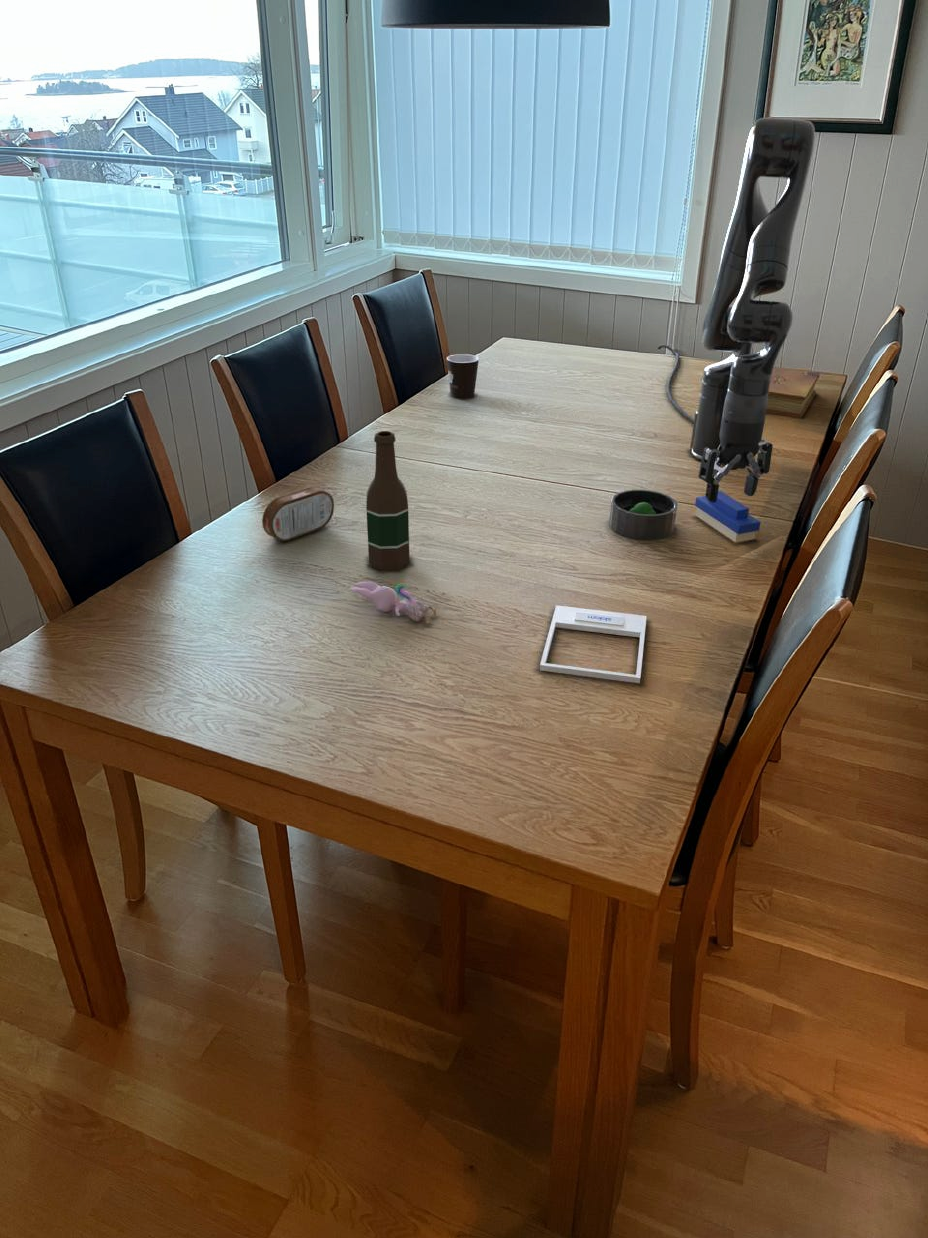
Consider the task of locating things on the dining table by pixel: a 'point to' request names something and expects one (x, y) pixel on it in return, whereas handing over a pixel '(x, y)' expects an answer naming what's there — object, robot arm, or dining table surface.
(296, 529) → the tin
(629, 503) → the bowl
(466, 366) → the coffee mug
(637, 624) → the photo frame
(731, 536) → the brush
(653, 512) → the broccoli floret
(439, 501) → the dining table surface
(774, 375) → the diary
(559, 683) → the dining table surface
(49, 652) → the dining table surface
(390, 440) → the beer bottle
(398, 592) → the rabbit figure
